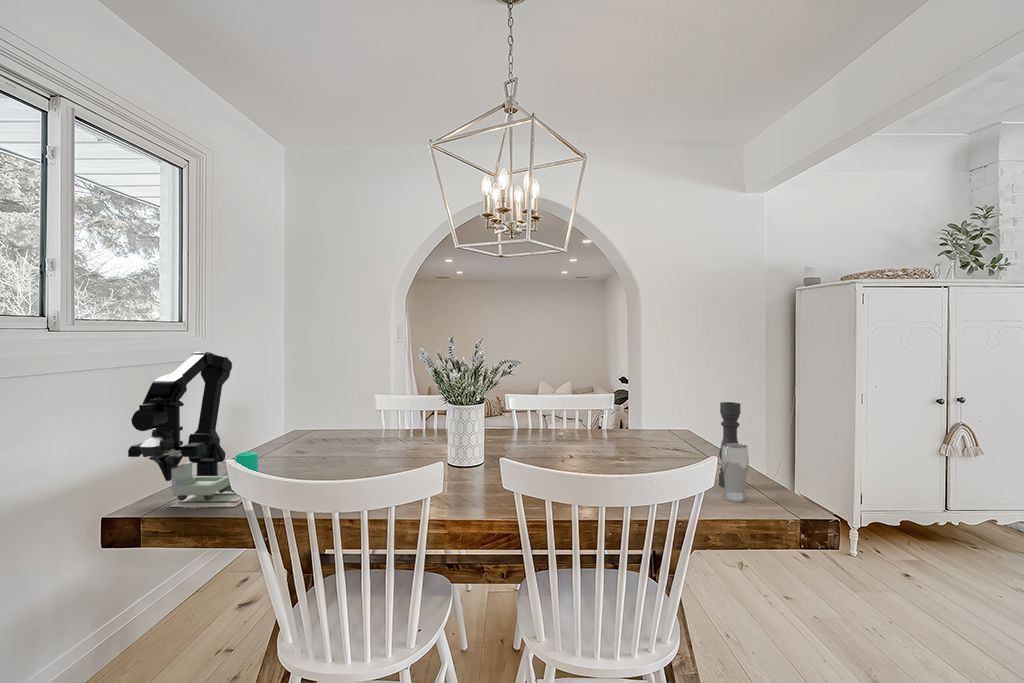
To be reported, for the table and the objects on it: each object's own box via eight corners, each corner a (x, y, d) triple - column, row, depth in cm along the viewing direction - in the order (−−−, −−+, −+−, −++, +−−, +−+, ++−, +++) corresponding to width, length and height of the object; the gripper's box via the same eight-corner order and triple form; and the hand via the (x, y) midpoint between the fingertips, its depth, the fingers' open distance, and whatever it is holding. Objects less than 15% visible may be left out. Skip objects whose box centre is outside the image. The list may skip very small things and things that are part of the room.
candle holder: (743, 485, 165) (744, 403, 165) (736, 489, 160) (737, 405, 160) (723, 481, 169) (723, 401, 169) (715, 485, 165) (716, 403, 164)
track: (198, 493, 158) (198, 490, 158) (257, 493, 158) (256, 490, 158) (170, 507, 145) (170, 505, 145) (234, 507, 145) (234, 504, 145)
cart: (191, 491, 156) (190, 460, 156) (230, 490, 156) (229, 460, 156) (169, 502, 146) (169, 469, 146) (211, 501, 146) (210, 469, 146)
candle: (249, 492, 159) (248, 451, 159) (231, 491, 160) (230, 450, 160) (262, 486, 165) (262, 446, 164) (244, 485, 166) (244, 446, 166)
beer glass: (748, 497, 153) (748, 444, 153) (747, 504, 147) (748, 449, 147) (722, 494, 156) (722, 442, 156) (720, 500, 150) (720, 446, 150)
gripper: (112, 429, 143) (113, 489, 143) (184, 429, 143) (184, 489, 143) (141, 422, 154) (142, 477, 154) (207, 422, 154) (208, 477, 154)
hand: (168, 480), depth 151 cm, fingers closed
